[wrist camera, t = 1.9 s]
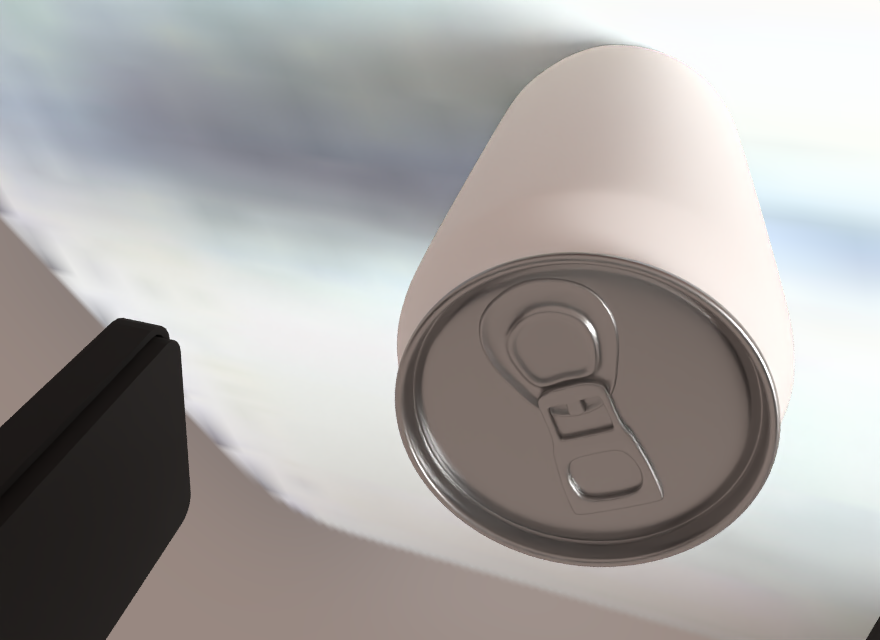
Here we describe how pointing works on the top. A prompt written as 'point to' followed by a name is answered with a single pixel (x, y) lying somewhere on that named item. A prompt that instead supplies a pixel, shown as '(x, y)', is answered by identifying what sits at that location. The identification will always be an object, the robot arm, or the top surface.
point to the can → (599, 322)
